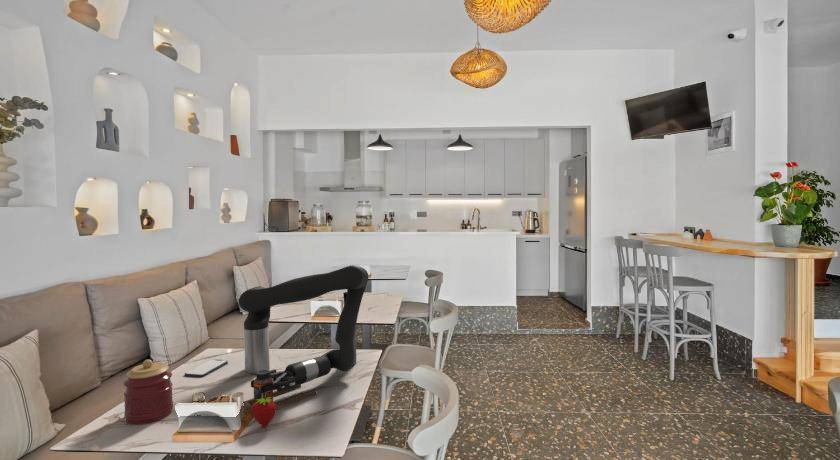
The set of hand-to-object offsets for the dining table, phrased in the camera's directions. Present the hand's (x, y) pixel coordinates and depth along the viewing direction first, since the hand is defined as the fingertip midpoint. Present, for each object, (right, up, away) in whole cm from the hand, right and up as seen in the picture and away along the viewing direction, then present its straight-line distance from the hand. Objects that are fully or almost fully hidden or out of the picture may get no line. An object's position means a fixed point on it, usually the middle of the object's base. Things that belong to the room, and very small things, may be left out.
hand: (256, 387), depth 137 cm
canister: (-32, -8, -3) cm, 33 cm away
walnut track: (+6, -7, +6) cm, 11 cm away
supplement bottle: (+2, -7, +2) cm, 8 cm away
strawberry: (+7, -8, -12) cm, 15 cm away
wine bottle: (+23, -5, +39) cm, 46 cm away
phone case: (-34, -7, +36) cm, 50 cm away
